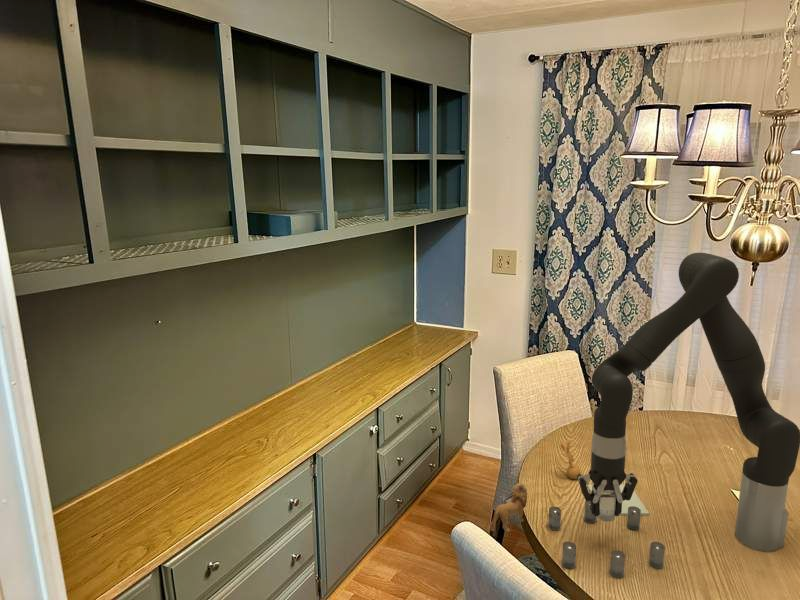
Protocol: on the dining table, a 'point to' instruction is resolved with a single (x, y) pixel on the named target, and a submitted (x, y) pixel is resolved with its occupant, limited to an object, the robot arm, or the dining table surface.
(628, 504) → the sage mat
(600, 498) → the clear rounded cylinder
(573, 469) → the figurine
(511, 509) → the lion figurine
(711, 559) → the dining table surface
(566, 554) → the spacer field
